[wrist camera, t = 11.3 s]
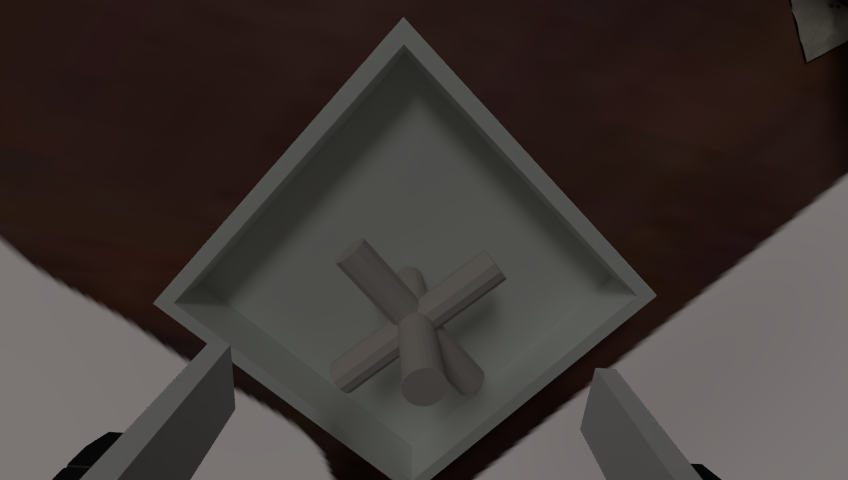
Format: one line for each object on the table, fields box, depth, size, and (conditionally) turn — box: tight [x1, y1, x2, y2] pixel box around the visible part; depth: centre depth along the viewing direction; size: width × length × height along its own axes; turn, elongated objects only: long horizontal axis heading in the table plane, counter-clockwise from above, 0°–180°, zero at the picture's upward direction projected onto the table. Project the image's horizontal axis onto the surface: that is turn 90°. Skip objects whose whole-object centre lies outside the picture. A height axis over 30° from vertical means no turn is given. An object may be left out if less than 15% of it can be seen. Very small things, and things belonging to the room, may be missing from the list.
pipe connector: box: [329, 237, 506, 406], centre depth 20 cm, size 10×10×10 cm
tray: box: [153, 17, 657, 480], centre depth 24 cm, size 20×20×4 cm
